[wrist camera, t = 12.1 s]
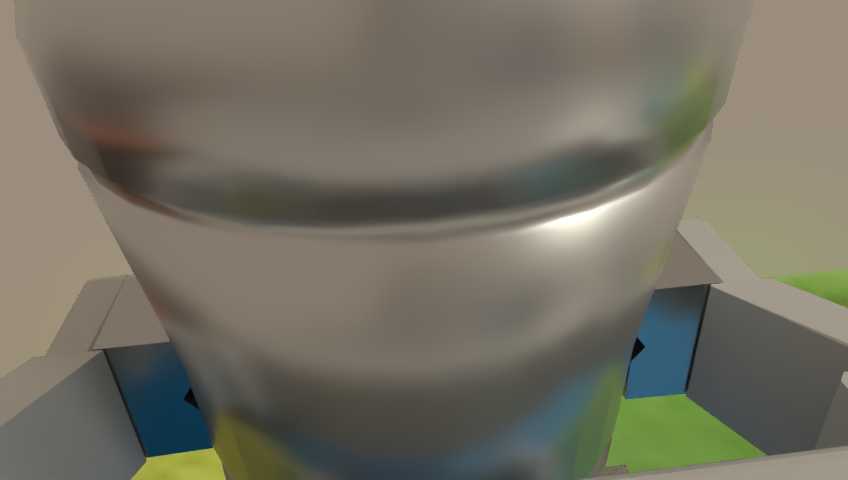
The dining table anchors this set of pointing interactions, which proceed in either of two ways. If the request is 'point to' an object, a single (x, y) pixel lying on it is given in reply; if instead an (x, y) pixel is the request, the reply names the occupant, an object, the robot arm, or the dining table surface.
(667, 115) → the silver bottle
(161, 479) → the dining table surface
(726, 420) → the robot arm
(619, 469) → the grey square tray
